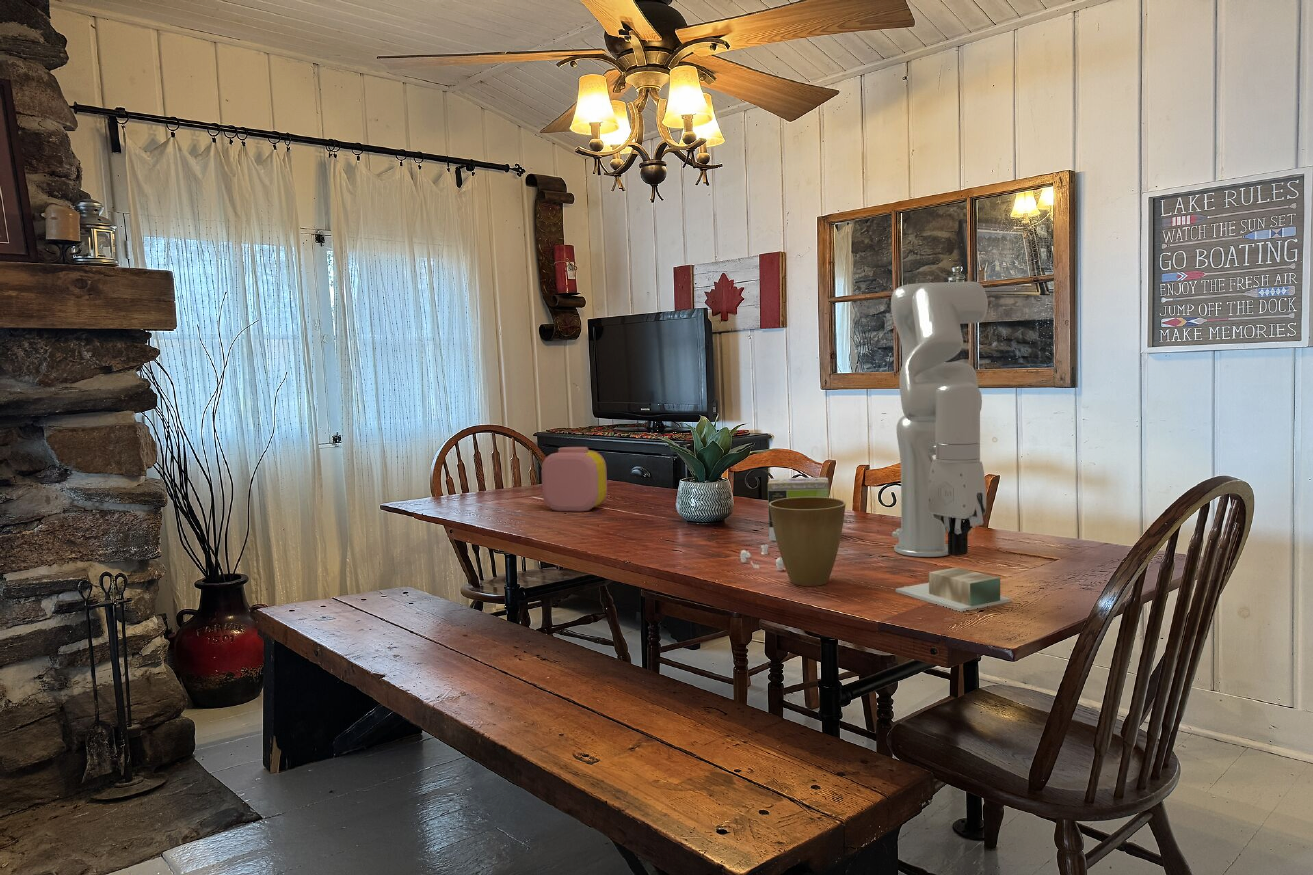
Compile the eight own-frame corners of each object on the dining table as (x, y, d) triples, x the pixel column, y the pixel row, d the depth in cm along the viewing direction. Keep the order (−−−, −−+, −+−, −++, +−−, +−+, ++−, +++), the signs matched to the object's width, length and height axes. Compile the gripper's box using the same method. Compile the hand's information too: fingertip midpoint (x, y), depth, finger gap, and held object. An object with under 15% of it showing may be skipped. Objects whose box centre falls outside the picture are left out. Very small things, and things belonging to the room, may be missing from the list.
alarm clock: (609, 507, 273) (607, 446, 271) (597, 512, 262) (595, 449, 261) (554, 506, 278) (552, 446, 277) (540, 511, 268) (538, 449, 266)
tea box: (829, 534, 220) (829, 476, 219) (830, 542, 210) (830, 481, 209) (770, 533, 222) (769, 476, 221) (768, 541, 213) (767, 482, 211)
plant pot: (781, 571, 182) (779, 495, 180) (852, 575, 176) (851, 497, 175) (761, 588, 168) (760, 506, 167) (838, 593, 162) (837, 509, 161)
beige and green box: (928, 572, 158) (971, 583, 149) (957, 567, 161) (1000, 578, 152) (929, 593, 158) (971, 606, 150) (957, 588, 162) (1000, 600, 153)
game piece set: (810, 576, 178) (810, 558, 177) (723, 567, 188) (723, 550, 188) (843, 557, 194) (842, 540, 194) (761, 550, 205) (761, 534, 204)
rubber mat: (895, 591, 163) (895, 588, 163) (943, 583, 168) (943, 580, 168) (960, 612, 148) (960, 608, 148) (1010, 601, 154) (1010, 598, 154)
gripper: (911, 451, 160) (912, 549, 161) (974, 457, 146) (974, 564, 148) (942, 448, 163) (942, 544, 164) (1006, 454, 150) (1006, 559, 151)
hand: (957, 554), depth 156 cm, fingers closed
